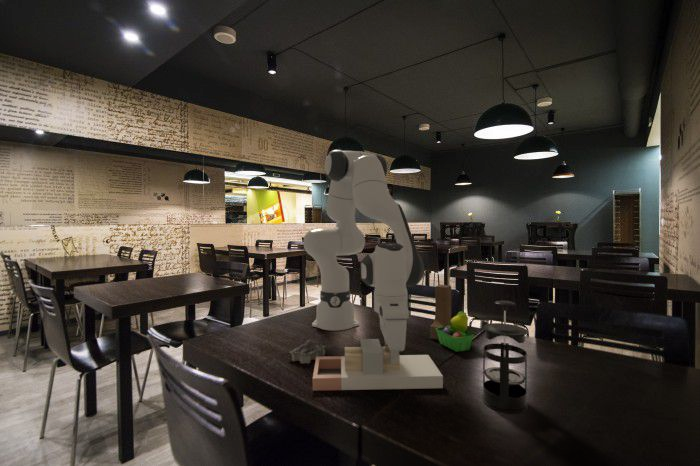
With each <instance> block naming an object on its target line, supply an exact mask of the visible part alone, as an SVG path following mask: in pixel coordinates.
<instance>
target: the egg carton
mask: <svg viewBox="0 0 700 466" xmlns="http://www.w3.org/2000/svg"><path fill="white" fill-rule="evenodd" d="M326 347H328V346H327V345H325V344H324V345H322V343H320V344H318V343H317V341H315V340H313V339H312V338H310V339H307V340H306V341H304V343H302V344H300V345H299V346H298V347H295V348H294V349H293V350H291V351H289V353H290V354H291V361H292V362H296V361H298V362H299V363H300V364H310V363H311V361H312V360H315V361H316V357H323V356H325V355H326V351H325V350H326V349H325V348H326Z"/></svg>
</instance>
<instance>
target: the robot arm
mask: <svg viewBox="0 0 700 466" xmlns="http://www.w3.org/2000/svg"><path fill="white" fill-rule="evenodd" d="M387 172H388V162H387V160H386V159H385V157H384V156H382V155H380V154H377V153H369V152H365V151H362V150H361V151H360V150H357V151H356V150H342V149H333V150H331V151H329V152H328V154H327V155H326V157H325V161H324V173H325V176H327V179H329V180H330V185H329V189H328V195H327V201H326V207H325V212H326V214H327V217H329V218H330V219H331V220H332V221H334V222H336V224H335V225H336V226H335V227H329V228H326V227H324V228H322V227H321V228H315V229H311V230H308V231H307V232H306V233H305V235H304V237H303V247H304V248H303V249H304V250H305V252H306V253H307V254H308V255H309V256H310V257H312V259H313V260H314V261H315V262H316V263H317V266H318V268H319V271H320V281H321V282H320V284H321V285H320V287H321V290H320V293H319V296H320V302H319V303H317V305H316V308H315V309H316V314H315V315H316V318H315V320H314V321H313V322H312V323H311V327H313V328H314V327H315V328H318V329H321V330H324V331H345V330H348V329H351V328H355V327H359V326H360V322H359V321H358V320H357V319H356V318H355V305H354V304H353V303H352V301H351V290H350V273H349V270H348V269H347V268H346V266H343V265H342V264H339V262H338V259H337V257H338V256H351V255H356V254H358V253H361V252H362V251H363V250H364V248H365V245H366V238H365V235H364V233H363V232H362V230H360V229H359V227H358V226H357V223H356V216H355V215H356V209H357V210H358V212H359V213H360V214H361V215H363V216H364V217H367V218H369V219H372V220H376V221H378V222H380V223H382V224H385V225H386V226H388V227H389V228H390V229H391V230H392V232H393V235H394V238H395V241H396V242H392V241H391V242H389V241H388V242H387V241H386V242H383V241H382V242H379V243H378V244H376V245H375V247H374V251H373V252H372V253H369V254H366V255H365V256H364V257H363V259H362V260H361V261H360V265H359V266H360V280H361V281H362V282H363V283H364V284H365V285H366V286H368V287H369V286H370V287H373V288H374V290H373V311H374V312H376V313H377V314H378V318H379V328H380V331H381V333H382V335H383V339H384V340H383V341H384V347H388V348H389V350H390V362H391V364H398V355H399V354H400V352H403V351H405V348H406V340H407V324H408V323H407V319H409V318H410V311H409V307H408V303H409V301H408V300H409V299H408V295H409V294H408V289H407V287H411V288H412V287H416V285H418V284H419V283H420V282H421V281H422V280H423V278H424V276H425V266H424V261H423V259H422V257H421V255H420V254H419V252H418V249H417V246H416V243H415V241H414V238H413V235H412V232H411V229H410V227H409V223H408V220H407V217H406V214H405V212H404V209H403V208H402V206H401V204H400V203H398V202H396V201H395V200H394V198H393V197H392V195H391V194H390V191H389V188H388V183H387V179H386V176H387V174H388V173H387Z"/></svg>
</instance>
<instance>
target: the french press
mask: <svg viewBox="0 0 700 466" xmlns="http://www.w3.org/2000/svg"><path fill="white" fill-rule="evenodd" d="M494 304H495V305H498V306H502V311H503V323H500V322H499V323H497V322H496V323H495V322H494V323H493V322H492V323H491V322H490V323H486V324H484V325H483V330H484V331H485V338H486V339H488V340H493V339H495V338H497V337H501V336H503V342H500V343H488V344H485V345H484V346H483V347H482V350H483V351H482V352H483V359H482V360H483V362H482V366H483V367H482V371H483V372H482V377H483V378H482V383H483V384H482V396H481V400H482V403H483V404H484V405H485V406H487V407H488V408H490V409H491V410H494V411H497V412H499V413H504V414H510V415H512V414H513V415H514V414H515V415H516V414H517V415H518V414H522V413H525V412H526V411H527V410H528V407H529V406H528V403H527V399H528V398H527V392H528V391H527V390H528V389H527V387H528V384H527V380H528V379H527V378H528V377H527V373H528V372H527V371H528V368H527V367H528V366H527V365H528V364H527V363H528V352H527V351H526V350H525V349H524V348H522V347H519V346H516V345H513V344H510V343H508V342H506V341H507V340H506V337H508V338H511V339H513V340H514V341H515V342H517V343H518V344H523V343H525V342H526V340H525V339H526V335H527V334H528V330H527V329H525V328H524V327H521V326H519V325H516V324H510V323H507V320H506V319H507V315H506V313H507V311H508V307H512V306H515V305H516V303H515V302H513V301H510V300H496V301H495V302H494ZM490 350H500V355H497V354H494V353H491V352H489V351H490ZM510 352H514V353H517V354H520V355H521V356H518V357H510ZM485 359H488V360H491V361H494V362H497V363H499V366H495V367H494V366H491V367H488V368H486V367H485V366H486V365H485V364H486V360H485ZM523 363H524V368H525V370H524V374H523V373H522V372H520V371H519V370H518V371H517V370H515V369H511V368H510V365H516V364H517V365H518V364H523ZM485 368H486V369H485ZM485 377H486V379H488V380H485ZM523 384H524V387H523V386H522V385H523Z"/></svg>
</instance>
